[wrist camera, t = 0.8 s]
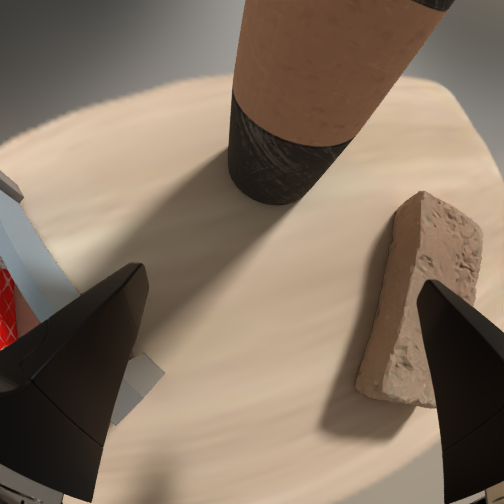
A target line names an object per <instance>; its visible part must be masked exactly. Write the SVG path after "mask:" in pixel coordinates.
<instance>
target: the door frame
mask: <svg viewBox="0 0 504 504" xmlns="http://www.w3.org/2000/svg"><path fill="white" fill-rule="evenodd" d="M0 190H1V191H3V192H4V193H5V194H7V195H8V196H9V197H11V198H12V199H14V200H15V201H16V202H18V203H19V202H20V201H21V200H22V199H23V198H24V196H23V194H22V193H21V191H20V189H19V187H18V185H17V184H16V183H15V182H13V181H12V180H11V179H10V178H9V177H7V176H6V175H5V174H4V173H3V172H2V171H0ZM164 374H165V372H164V371H163V370H161V369H160V368H159V367H158V366H157V365H156V364H155V363H154V362H153V361H152V360H151V359H150V358H149V357H148V356H147V355H146V354H145V353H143V354H141V355H139V356H137V357H135V358H133V359H131V360H129V361H128V364H127V367H126V370H125V373H124V376H123V380H122V383H121V386H120V389H119V393H118V396H117V399H116V403H115V406H114V410H113V413H112V417H111V420H110V421H111V422H112V423H113V424H114V425H115V426H116V425H117V424H118V423H119V422H120V421H121V420H122V419H123V418H124V417H125V416H126V415H127V414H128V413H129V412H130V411H131V410H132V409H133V408H134V407H135V406H136V405H137V404H138V403H139V402H140V401H141V400H142V399H143V398H144V397H145V396H146V395H147V393H148V392H149V391H150V390H151V389H152V388H153V387H154V385H155V384H156V383H157V382H158V381H159V380H160V378H161V377H162V376H163V375H164Z"/></svg>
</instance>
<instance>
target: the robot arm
mask: <svg viewBox="0 0 504 504" xmlns="http://www.w3.org/2000/svg"><path fill="white" fill-rule="evenodd" d="M148 291H149V283H148V279H147V274H146V270H145V266H144V265H143V264H142V263H135V262H131V263H129V264H127V265H126V266H124V267H123V268H121V269H120V270H118V271H116V272H115V273H113V274H112V275H110V276H109V277H107V278H106V279H104V280H103V281H101V282H100V283H98V284H97V285H95V286H94V287H92V288H91V289H89V290H88V291H86V292H85V293H83V294H82V295H80V296H79V297H77V298H76V299H75V300H73V301H72V302H70V303H69V304H67V305H66V306H64V307H63V308H62V309H60V310H59V311H57V312H56V313H55V314H53V315H52V316H50V317H49V318H48V319H46V320H45V321H43V322H42V323H41V324H39V325H38V326H36V327H35V328H34V329H32V330H31V331H29V332H28V333H27V334H25V335H24V336H22V337H20V338H19V339H17V340H16V341H14V342H13V343H11V344H10V345H8V346H7V347H5V348H3V349H2V350H0V504H63V502H62V500H63V496H64V494H66V495H69V496H71V497H74V498H77V499H80V500H83V501H86V502H90V503H91V502H92V499H93V494H94V489H95V484H96V479H97V474H98V469H99V465H100V461H101V456H102V452H103V447H104V443H105V439H106V435H107V432H108V428H109V424H110V420H111V417H112V413H113V410H114V406H115V403H116V399H117V396H118V393H119V389H120V386H121V383H122V380H123V376H124V373H125V370H126V367H127V364H128V361H129V358H130V355H131V352H132V349H133V346H134V343H135V340H136V338H137V334H138V331H139V327H140V323H141V319H142V315H143V311H144V307H145V303H146V299H147V295H148ZM416 305H417V310H418V315H419V321H420V327H421V333H422V339H423V344H424V349H425V353H426V357H427V361H428V366H429V370H430V375H431V380H432V385H433V390H434V395H435V401H436V407H437V413H438V420H439V428H440V436H441V445H442V458H443V473H444V503H445V504H450V503H453V502H456V501H458V500H461V499H464V498H466V497H469V496H471V495H474V494H476V493H479V492H481V491H483V490H484V491H485V496H483V497H481V498H480V499H478V500H476V501H474V502H472V503H470V504H504V333H503V332H502V331H501V330H500V329H499V328H498V327H497V326H495V325H494V324H493V323H492V322H491V321H489V320H488V319H487V318H486V317H485V316H483V315H482V314H481V313H480V312H478V311H477V310H476V309H475V308H474V307H472V306H471V305H470V304H469V303H467V302H466V301H465V300H463V299H462V298H461V297H460V296H458V295H457V294H456V293H454V292H453V291H452V290H450V289H449V288H448V287H447V286H445V285H444V284H442V283H441V282H440V281H438V280H436V279H427V280H426V281H425V282H424V284H423V286H422V288H421V291H420V293H419V295H418V297H417V301H416Z"/></svg>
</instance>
